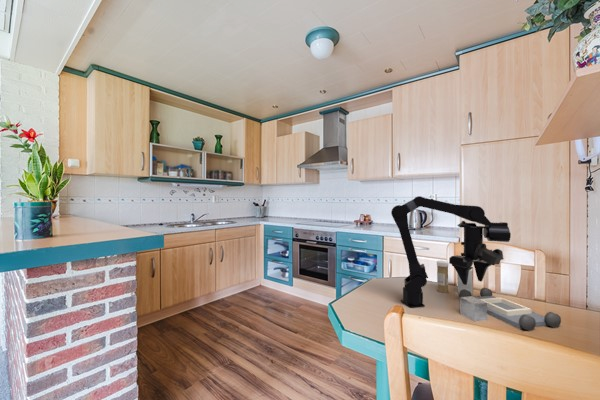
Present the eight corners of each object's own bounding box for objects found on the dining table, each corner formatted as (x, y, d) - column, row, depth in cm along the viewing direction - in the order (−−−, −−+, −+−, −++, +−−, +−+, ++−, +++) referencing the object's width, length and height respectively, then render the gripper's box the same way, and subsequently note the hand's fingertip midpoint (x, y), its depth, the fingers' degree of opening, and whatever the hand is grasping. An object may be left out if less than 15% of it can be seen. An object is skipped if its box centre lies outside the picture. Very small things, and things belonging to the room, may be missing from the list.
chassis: (524, 331, 78) (524, 317, 78) (459, 300, 103) (458, 289, 103) (561, 327, 81) (560, 313, 81) (488, 297, 106) (488, 287, 106)
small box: (472, 295, 109) (472, 271, 109) (457, 292, 112) (457, 268, 112) (473, 290, 115) (473, 267, 115) (459, 287, 118) (459, 265, 119)
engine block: (474, 321, 85) (474, 303, 85) (460, 314, 91) (460, 297, 91) (487, 320, 86) (487, 302, 86) (472, 312, 92) (472, 296, 92)
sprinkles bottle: (451, 292, 112) (450, 262, 112) (442, 293, 111) (442, 262, 111) (443, 289, 116) (442, 260, 116) (434, 290, 115) (434, 260, 116)
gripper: (482, 245, 81) (481, 294, 81) (513, 241, 89) (512, 286, 89) (448, 240, 91) (448, 283, 91) (479, 237, 99) (478, 277, 99)
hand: (472, 282), depth 92 cm, fingers open, 9 cm apart
